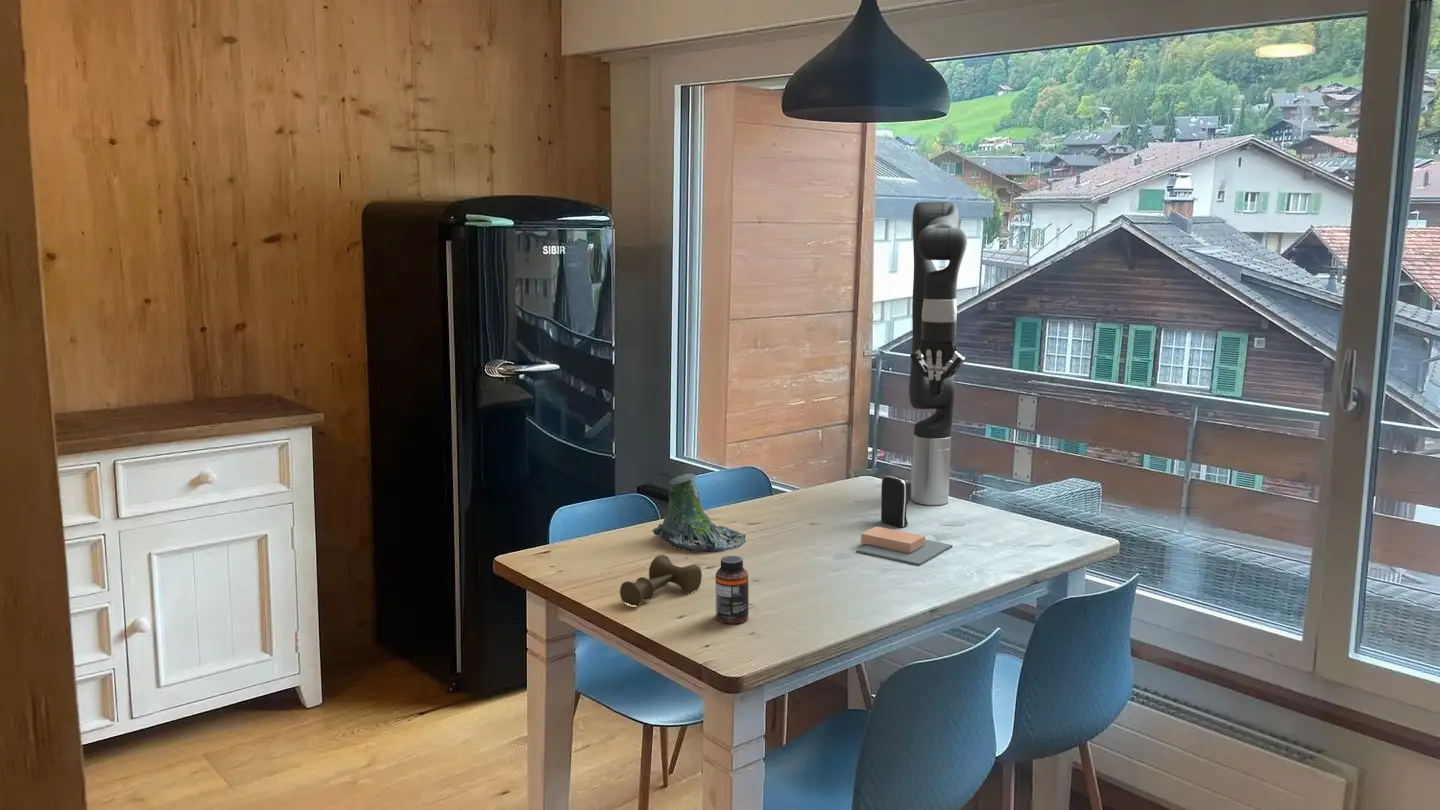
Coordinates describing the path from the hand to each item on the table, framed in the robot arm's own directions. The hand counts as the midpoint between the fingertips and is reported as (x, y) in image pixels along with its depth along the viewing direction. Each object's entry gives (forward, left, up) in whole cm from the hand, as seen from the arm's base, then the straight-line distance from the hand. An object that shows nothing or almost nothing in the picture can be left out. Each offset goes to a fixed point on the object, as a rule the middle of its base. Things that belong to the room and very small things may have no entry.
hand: (936, 396), depth 236 cm
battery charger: (-10, -3, -32) cm, 34 cm away
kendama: (+13, -70, -32) cm, 78 cm away
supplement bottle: (+30, -63, -32) cm, 77 cm away
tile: (0, -17, -30) cm, 34 cm away
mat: (+8, -12, -32) cm, 35 cm away
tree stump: (-15, -51, -32) cm, 62 cm away
